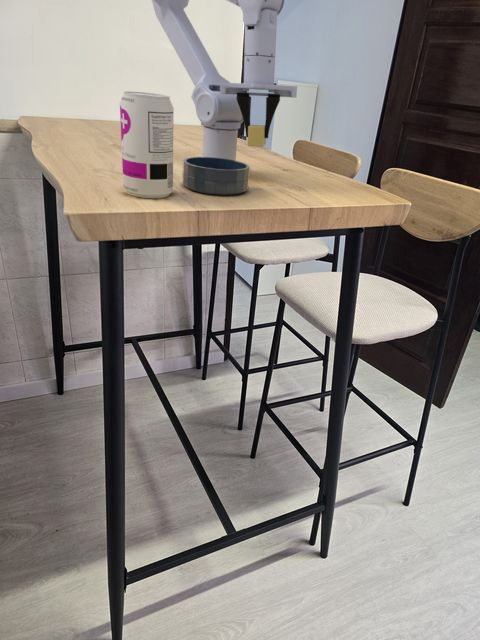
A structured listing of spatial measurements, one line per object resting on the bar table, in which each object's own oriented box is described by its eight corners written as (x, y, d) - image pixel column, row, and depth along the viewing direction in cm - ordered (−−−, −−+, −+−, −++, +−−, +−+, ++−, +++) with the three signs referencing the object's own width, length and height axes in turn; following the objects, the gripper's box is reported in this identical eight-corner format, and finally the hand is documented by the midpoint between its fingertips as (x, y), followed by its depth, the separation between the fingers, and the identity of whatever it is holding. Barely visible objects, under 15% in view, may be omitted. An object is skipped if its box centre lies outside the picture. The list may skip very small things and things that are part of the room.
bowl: (190, 178, 95) (190, 154, 93) (250, 185, 95) (252, 161, 93) (175, 191, 84) (176, 164, 82) (243, 199, 84) (245, 173, 82)
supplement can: (122, 197, 77) (118, 93, 69) (124, 186, 84) (120, 89, 76) (173, 200, 79) (174, 98, 71) (171, 189, 86) (172, 95, 78)
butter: (251, 143, 98) (251, 124, 96) (265, 144, 98) (266, 125, 96) (247, 146, 92) (248, 126, 90) (263, 147, 92) (263, 127, 90)
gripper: (217, 53, 84) (217, 136, 91) (299, 57, 84) (293, 140, 90) (222, 56, 91) (222, 134, 97) (298, 60, 90) (293, 138, 97)
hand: (257, 137), depth 94 cm, fingers closed on butter, 3 cm apart
